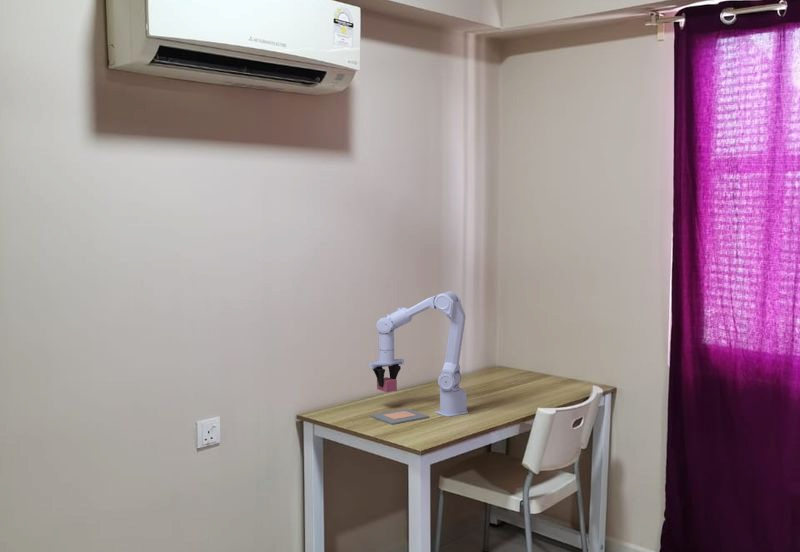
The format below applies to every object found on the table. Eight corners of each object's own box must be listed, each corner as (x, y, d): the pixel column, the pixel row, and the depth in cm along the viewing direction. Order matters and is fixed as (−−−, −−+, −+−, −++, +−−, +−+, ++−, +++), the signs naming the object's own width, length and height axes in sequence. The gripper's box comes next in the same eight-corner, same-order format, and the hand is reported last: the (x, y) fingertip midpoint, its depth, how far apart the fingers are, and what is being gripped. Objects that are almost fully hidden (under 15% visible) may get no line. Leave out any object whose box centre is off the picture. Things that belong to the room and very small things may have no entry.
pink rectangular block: (387, 387, 302) (386, 377, 302) (396, 390, 297) (396, 380, 297) (377, 389, 300) (376, 378, 299) (386, 392, 294) (386, 381, 294)
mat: (406, 410, 295) (406, 407, 295) (429, 417, 284) (429, 415, 284) (370, 416, 286) (370, 414, 286) (392, 424, 275) (392, 422, 275)
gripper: (396, 346, 304) (396, 381, 306) (364, 350, 296) (364, 386, 297) (407, 348, 299) (407, 384, 300) (374, 352, 290) (375, 389, 291)
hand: (386, 385), depth 298 cm, fingers closed on pink rectangular block, 4 cm apart
